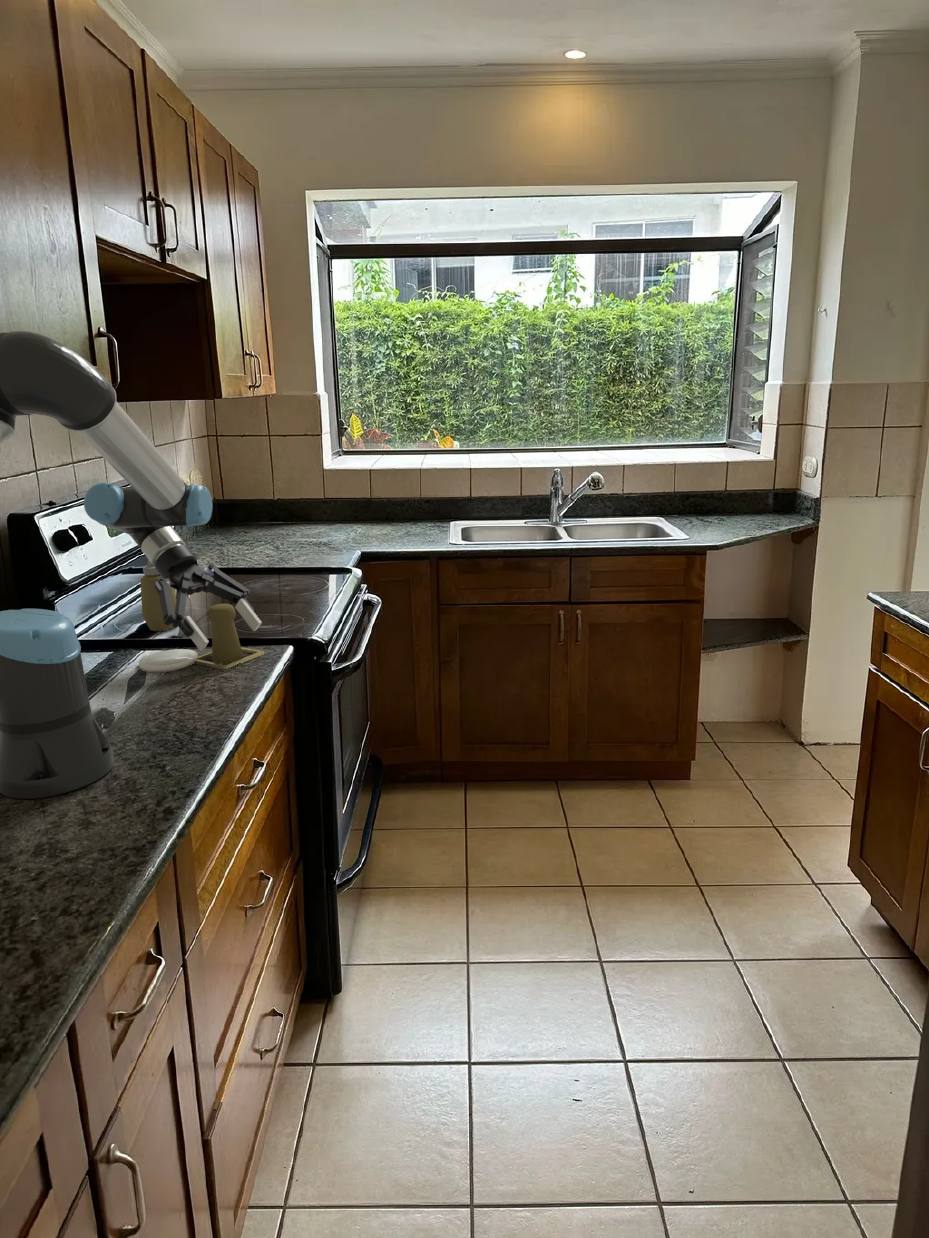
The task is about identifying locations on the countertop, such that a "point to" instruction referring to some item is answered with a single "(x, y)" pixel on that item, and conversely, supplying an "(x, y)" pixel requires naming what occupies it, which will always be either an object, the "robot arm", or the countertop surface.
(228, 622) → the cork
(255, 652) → the square frame
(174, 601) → the squeeze bottle
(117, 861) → the countertop surface
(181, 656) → the saucer
